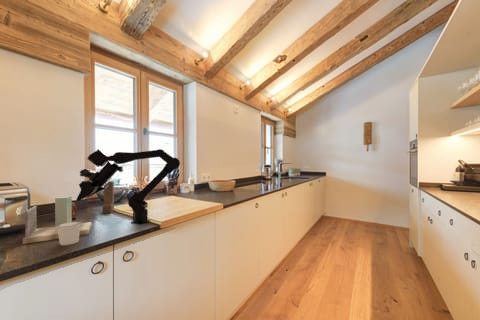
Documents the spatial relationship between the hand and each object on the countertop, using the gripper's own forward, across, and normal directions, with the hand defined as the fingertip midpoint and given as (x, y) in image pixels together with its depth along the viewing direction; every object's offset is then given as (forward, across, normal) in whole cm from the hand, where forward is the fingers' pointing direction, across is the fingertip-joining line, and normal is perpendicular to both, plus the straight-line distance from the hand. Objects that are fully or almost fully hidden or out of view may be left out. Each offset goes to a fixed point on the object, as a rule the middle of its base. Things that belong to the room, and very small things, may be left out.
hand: (82, 198), depth 98 cm
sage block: (+15, 0, +3) cm, 15 cm away
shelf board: (+12, +10, +6) cm, 17 cm away
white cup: (+7, +20, +12) cm, 25 cm away
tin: (+20, -18, -2) cm, 27 cm away
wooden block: (+9, -26, +10) cm, 30 cm away
